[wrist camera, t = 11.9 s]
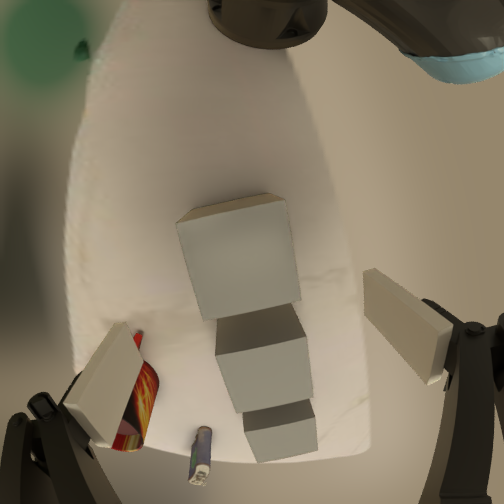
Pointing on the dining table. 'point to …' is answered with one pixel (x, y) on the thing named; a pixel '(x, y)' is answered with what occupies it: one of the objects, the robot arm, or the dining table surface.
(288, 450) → the large plain grey block
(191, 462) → the flask
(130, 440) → the mug
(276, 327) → the pale gray cube
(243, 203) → the pale grey cube
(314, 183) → the dining table surface
